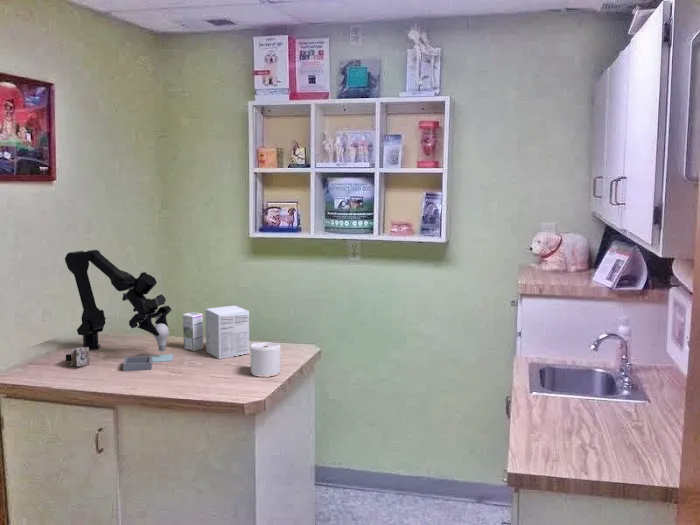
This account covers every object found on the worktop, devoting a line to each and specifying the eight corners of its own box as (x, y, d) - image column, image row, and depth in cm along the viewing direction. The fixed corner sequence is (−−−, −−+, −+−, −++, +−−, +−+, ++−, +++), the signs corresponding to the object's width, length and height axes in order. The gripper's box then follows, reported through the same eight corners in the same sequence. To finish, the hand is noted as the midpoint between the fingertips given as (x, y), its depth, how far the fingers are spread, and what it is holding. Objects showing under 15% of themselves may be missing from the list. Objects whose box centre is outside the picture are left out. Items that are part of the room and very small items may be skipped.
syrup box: (204, 348, 273) (203, 313, 271) (193, 351, 268) (192, 315, 266) (193, 346, 276) (193, 311, 274) (183, 349, 271) (182, 313, 269)
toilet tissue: (272, 379, 234) (272, 351, 232) (241, 375, 238) (241, 347, 237) (285, 370, 244) (285, 343, 242) (256, 367, 248) (255, 340, 247)
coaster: (151, 356, 260) (151, 355, 260) (172, 355, 262) (172, 354, 262) (150, 362, 253) (150, 361, 253) (172, 360, 255) (172, 359, 254)
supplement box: (250, 354, 264) (250, 310, 262) (218, 359, 257) (218, 314, 255) (236, 347, 275) (235, 305, 273) (205, 351, 268) (204, 308, 266)
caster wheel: (76, 366, 256) (98, 364, 253) (55, 368, 245) (78, 366, 242) (75, 348, 256) (98, 346, 254) (54, 349, 246) (77, 347, 243)
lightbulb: (174, 350, 258) (171, 323, 256) (160, 355, 254) (157, 327, 251) (164, 347, 262) (162, 320, 260) (151, 351, 258) (148, 324, 255)
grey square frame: (125, 363, 250) (125, 357, 250) (152, 362, 253) (152, 355, 252) (123, 371, 241) (123, 364, 241) (151, 369, 243) (151, 362, 243)
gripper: (134, 292, 247) (159, 325, 244) (167, 285, 264) (190, 315, 261) (118, 311, 251) (142, 344, 248) (151, 302, 268) (174, 333, 265)
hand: (163, 333), depth 256 cm, fingers closed on lightbulb, 6 cm apart
